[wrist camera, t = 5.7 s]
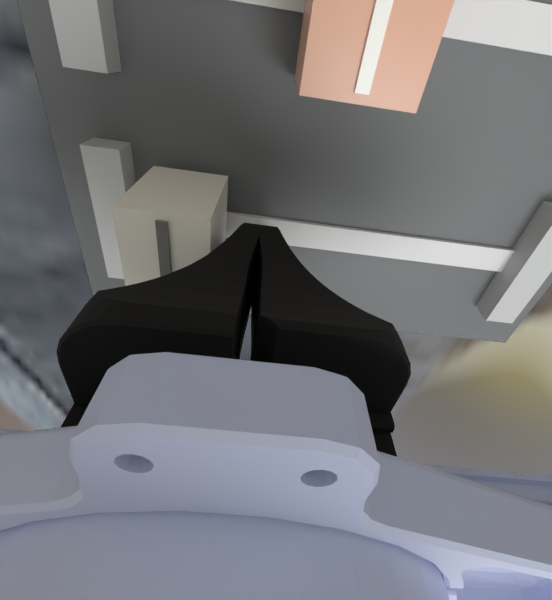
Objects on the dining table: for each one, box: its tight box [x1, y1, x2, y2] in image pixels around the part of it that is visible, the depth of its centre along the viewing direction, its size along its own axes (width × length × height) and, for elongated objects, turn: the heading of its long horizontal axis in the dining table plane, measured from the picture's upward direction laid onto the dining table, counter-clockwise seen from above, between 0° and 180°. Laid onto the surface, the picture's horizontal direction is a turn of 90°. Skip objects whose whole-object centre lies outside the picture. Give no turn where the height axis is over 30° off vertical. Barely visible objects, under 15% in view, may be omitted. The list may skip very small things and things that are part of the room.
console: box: [17, 0, 552, 342], centre depth 11 cm, size 16×20×2 cm
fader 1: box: [111, 166, 228, 286], centre depth 11 cm, size 4×2×4 cm, turn 173°
